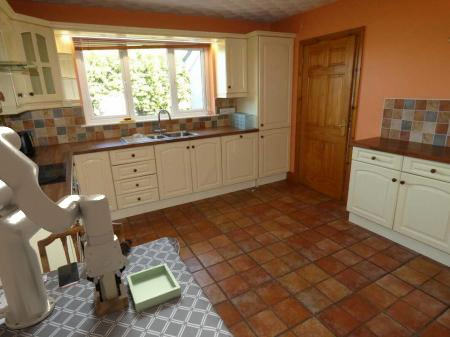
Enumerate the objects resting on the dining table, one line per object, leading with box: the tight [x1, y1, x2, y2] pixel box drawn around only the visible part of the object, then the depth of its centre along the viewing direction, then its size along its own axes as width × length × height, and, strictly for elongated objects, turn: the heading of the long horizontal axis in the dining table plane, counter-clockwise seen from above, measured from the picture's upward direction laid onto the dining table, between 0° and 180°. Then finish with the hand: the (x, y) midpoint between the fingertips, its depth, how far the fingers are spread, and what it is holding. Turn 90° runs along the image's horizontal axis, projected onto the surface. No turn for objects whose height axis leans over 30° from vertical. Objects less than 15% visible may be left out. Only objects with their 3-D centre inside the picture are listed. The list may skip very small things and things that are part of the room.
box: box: [98, 270, 119, 302], centre depth 86 cm, size 5×4×13 cm
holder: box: [93, 278, 130, 319], centre depth 87 cm, size 9×10×4 cm
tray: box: [125, 262, 182, 313], centre depth 92 cm, size 14×16×3 cm
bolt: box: [119, 238, 133, 255], centre depth 114 cm, size 6×5×15 cm
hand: (109, 288), depth 86 cm, fingers closed on box, 4 cm apart
